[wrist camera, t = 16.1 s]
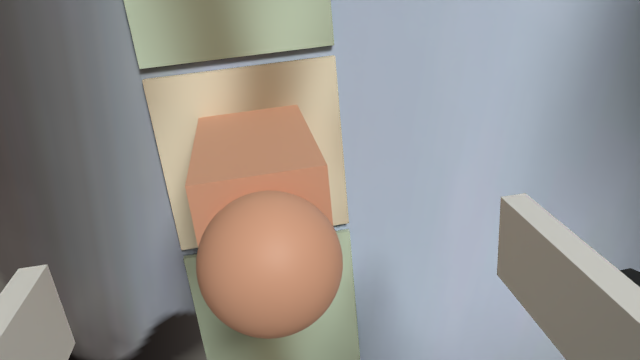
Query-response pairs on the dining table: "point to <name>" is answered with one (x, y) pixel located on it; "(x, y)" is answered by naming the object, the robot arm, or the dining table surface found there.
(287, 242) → the orange-brown peg figure
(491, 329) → the dining table surface
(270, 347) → the track
